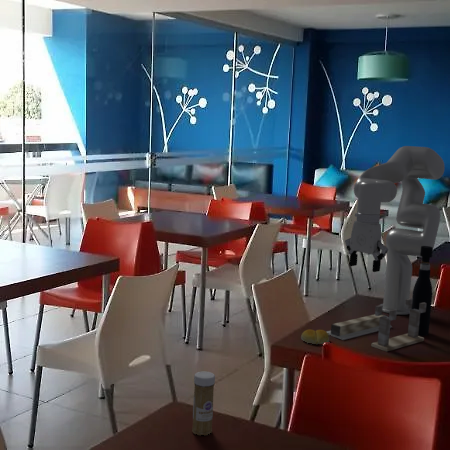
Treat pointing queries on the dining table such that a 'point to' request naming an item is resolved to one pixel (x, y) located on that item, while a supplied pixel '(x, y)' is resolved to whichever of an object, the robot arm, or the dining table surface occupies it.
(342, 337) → the mat
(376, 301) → the dining table surface
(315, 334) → the bread roll
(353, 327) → the rail
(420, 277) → the wine bottle
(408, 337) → the rack
